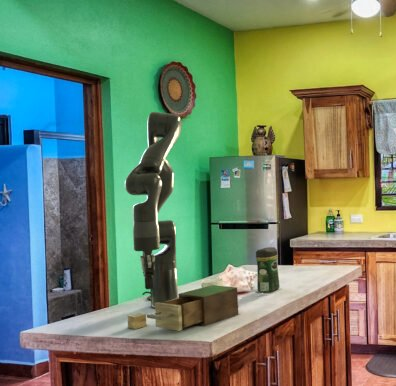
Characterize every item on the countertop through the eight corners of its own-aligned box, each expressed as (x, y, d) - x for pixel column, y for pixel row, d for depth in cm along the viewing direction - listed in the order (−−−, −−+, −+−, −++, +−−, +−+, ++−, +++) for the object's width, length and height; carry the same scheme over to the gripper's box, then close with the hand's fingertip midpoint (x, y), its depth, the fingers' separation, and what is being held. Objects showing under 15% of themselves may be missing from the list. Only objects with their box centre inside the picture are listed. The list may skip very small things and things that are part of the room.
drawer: (166, 335, 147) (165, 309, 147) (143, 330, 153) (141, 306, 153) (213, 319, 163) (212, 296, 163) (190, 316, 168) (189, 293, 168)
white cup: (217, 309, 180) (215, 282, 180) (198, 309, 182) (196, 282, 182) (228, 303, 188) (226, 278, 188) (209, 303, 189) (208, 278, 189)
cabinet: (205, 325, 159) (203, 296, 159) (179, 321, 165) (178, 293, 165) (238, 314, 172) (237, 287, 171) (213, 311, 178) (212, 285, 178)
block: (127, 327, 160) (127, 315, 160) (139, 324, 164) (138, 312, 164) (135, 329, 158) (134, 317, 158) (146, 325, 162) (145, 313, 162)
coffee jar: (266, 287, 215) (264, 246, 215) (282, 288, 213) (280, 246, 212) (254, 292, 206) (252, 249, 206) (270, 293, 204) (268, 249, 203)
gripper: (161, 235, 152) (164, 290, 153) (156, 232, 163) (159, 283, 164) (135, 237, 148) (137, 294, 149) (131, 234, 160) (134, 287, 160)
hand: (149, 288), depth 156 cm, fingers closed
